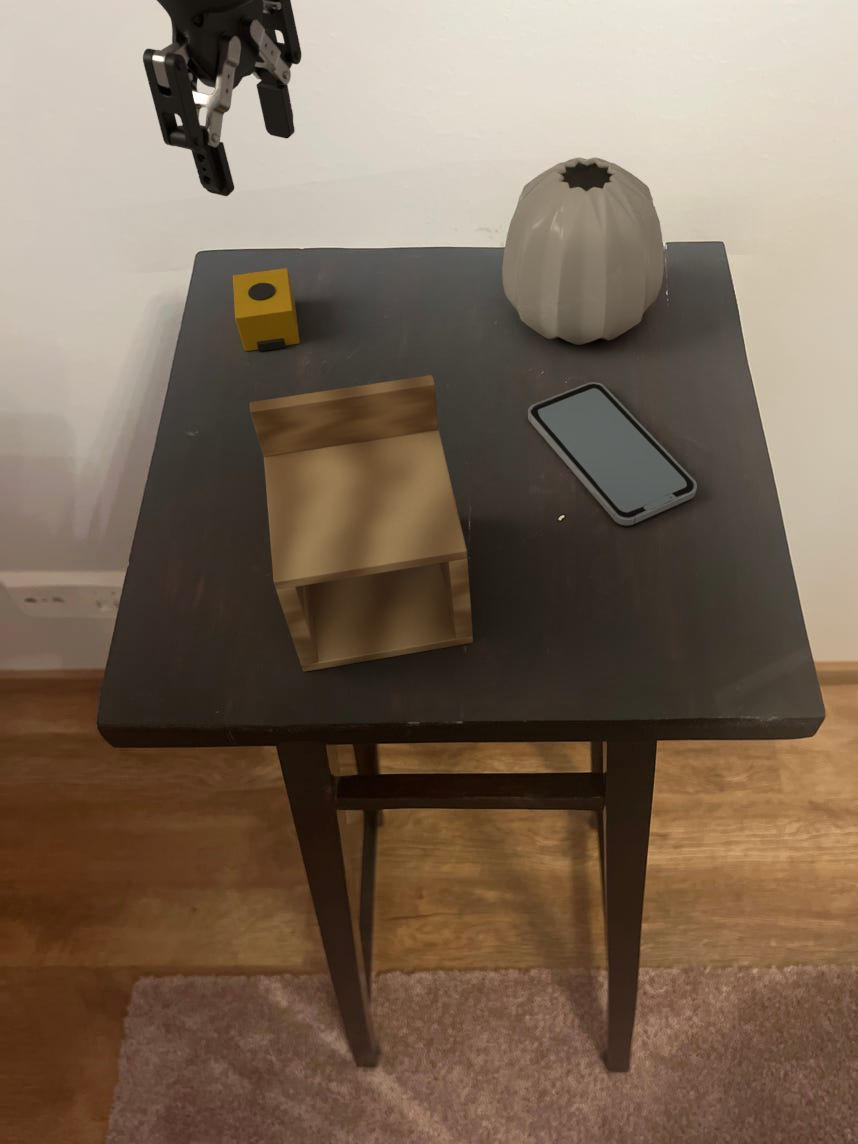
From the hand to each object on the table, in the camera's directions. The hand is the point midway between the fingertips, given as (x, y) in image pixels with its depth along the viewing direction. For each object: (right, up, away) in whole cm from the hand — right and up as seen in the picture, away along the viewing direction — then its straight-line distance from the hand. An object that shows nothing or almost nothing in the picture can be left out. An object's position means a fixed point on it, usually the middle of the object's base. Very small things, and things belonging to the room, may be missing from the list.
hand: (251, 162), depth 73 cm
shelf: (+10, -32, -2) cm, 34 cm away
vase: (+26, -6, +16) cm, 31 cm away
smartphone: (+28, -21, +5) cm, 35 cm away
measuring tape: (-2, -7, +16) cm, 18 cm away
